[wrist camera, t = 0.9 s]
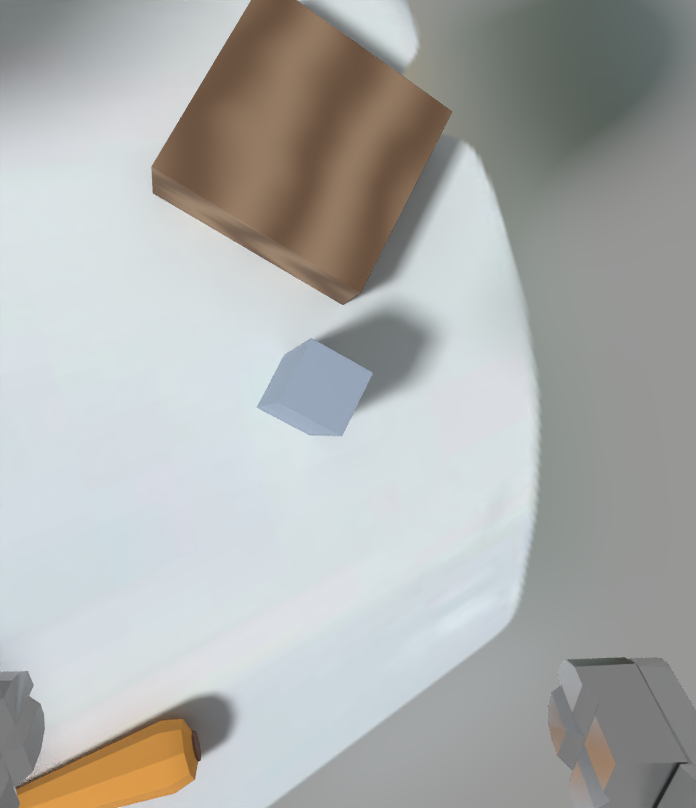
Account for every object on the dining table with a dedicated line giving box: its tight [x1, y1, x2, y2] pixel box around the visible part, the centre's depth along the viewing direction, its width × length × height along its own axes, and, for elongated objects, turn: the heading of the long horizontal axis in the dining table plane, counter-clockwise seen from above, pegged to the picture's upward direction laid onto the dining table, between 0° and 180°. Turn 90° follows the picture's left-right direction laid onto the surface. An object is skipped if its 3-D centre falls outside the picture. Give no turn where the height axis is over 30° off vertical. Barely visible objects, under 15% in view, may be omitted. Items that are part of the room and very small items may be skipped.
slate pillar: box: [257, 338, 373, 436], centre depth 42 cm, size 4×4×9 cm
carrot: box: [16, 719, 201, 808], centre depth 39 cm, size 20×4×4 cm, turn 105°
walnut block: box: [152, 0, 452, 305], centre depth 45 cm, size 16×16×5 cm
